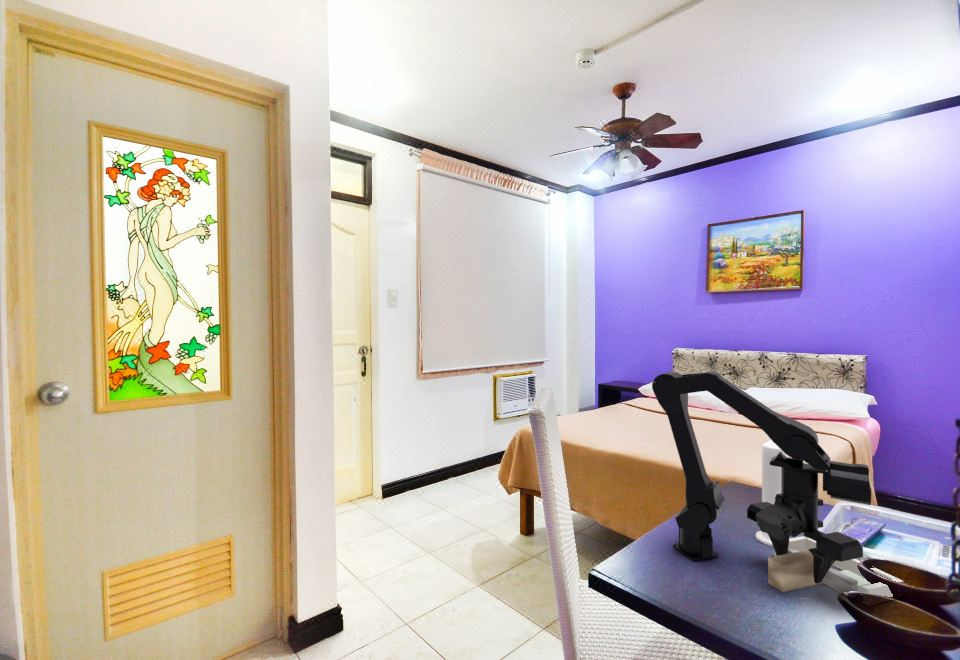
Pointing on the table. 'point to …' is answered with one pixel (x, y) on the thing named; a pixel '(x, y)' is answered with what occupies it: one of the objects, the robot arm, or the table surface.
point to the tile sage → (860, 579)
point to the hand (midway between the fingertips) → (799, 572)
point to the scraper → (803, 573)
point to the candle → (769, 481)
